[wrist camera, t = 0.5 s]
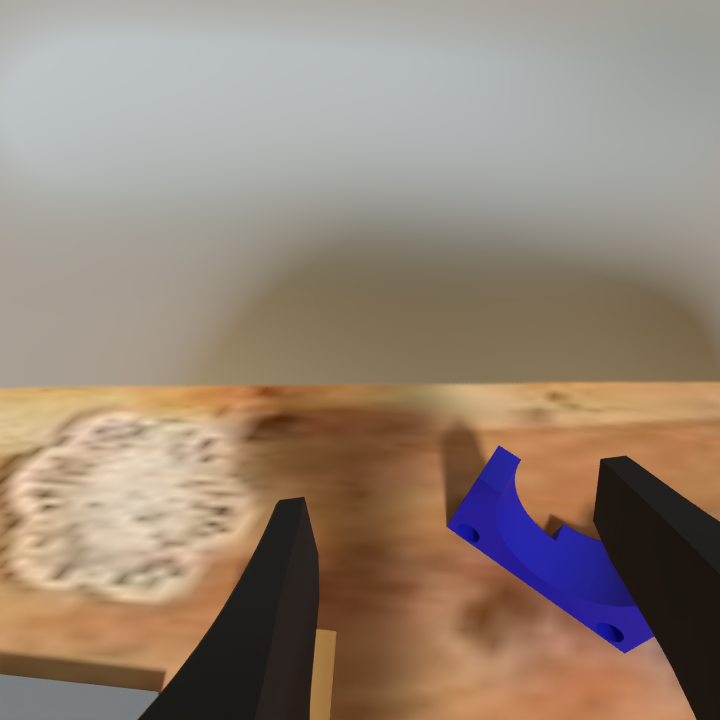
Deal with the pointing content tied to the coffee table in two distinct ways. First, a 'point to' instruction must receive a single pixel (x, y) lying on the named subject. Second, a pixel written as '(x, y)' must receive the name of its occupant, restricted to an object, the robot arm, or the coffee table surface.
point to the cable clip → (548, 556)
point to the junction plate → (69, 700)
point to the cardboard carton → (322, 674)
